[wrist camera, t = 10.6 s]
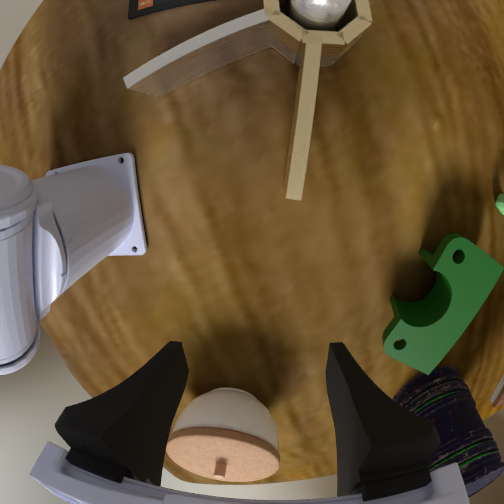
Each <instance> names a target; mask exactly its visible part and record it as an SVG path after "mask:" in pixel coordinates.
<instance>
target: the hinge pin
mask: <svg viewBox="0 0 504 504" xmlns="http://www.w3.org/2000/svg"><path fill="white" fill-rule="evenodd" d="M350 2H351V0H290V10H289V18H290V19H291V20H293V21H294V22H295V23H297V24H298V25H300V26H301V27H302V28H304V29H305V30H318V31H335V29H336V27H337V25H338V24H339V22H340V20H341V18H342V16H343V15H344V13H345V11H346V9H347V7H348V6H349V4H350Z"/></svg>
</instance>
